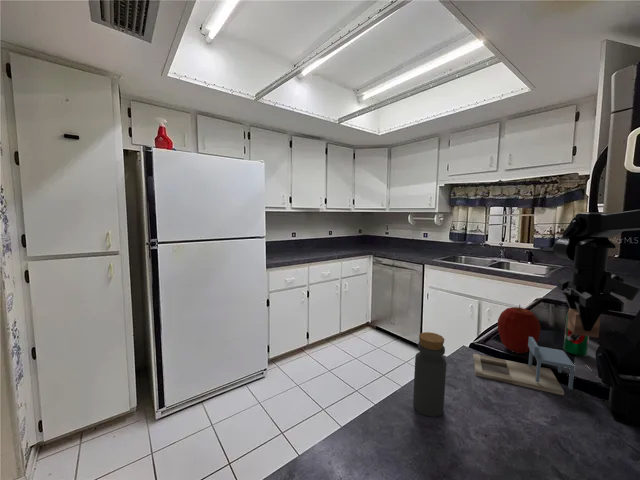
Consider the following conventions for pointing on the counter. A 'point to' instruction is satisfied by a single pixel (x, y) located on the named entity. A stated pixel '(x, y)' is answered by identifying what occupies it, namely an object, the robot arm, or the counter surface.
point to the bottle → (430, 375)
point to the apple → (518, 328)
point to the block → (576, 325)
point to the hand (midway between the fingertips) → (582, 327)
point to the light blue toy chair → (550, 360)
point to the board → (516, 373)
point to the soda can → (575, 342)
